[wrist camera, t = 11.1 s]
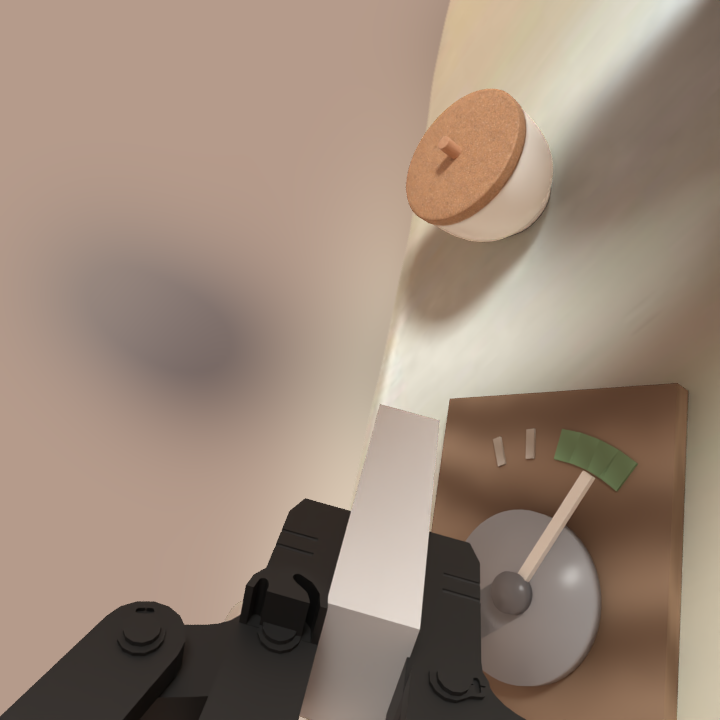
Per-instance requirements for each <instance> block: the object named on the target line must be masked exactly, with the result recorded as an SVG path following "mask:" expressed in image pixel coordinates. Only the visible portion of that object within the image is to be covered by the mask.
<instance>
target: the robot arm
mask: <svg viewBox="0 0 720 720" xmlns="http://www.w3.org/2000/svg"><path fill="white" fill-rule="evenodd" d="M439 421H440V420H436V419H433V418H429V417H425V416H422V415H418V414H414V413H411V412H407V411H403V410H400V409H396V408H392V407H389V406H385V405H381V404H380V407H379V410H378V414H377V418H376V421H375V425H374V429H373V432H372V436H371V440H370V443H369V447H368V451H367V455H366V458H365V462H364V466H363V469H362V473H361V477H360V480H359V484H358V488H357V491H356V495H355V499H354V502H353V506H352V510H351V511H348V510H345V509H341V508H338V507H334V506H330V505H327V504H323V503H320V502H316V501H313V500H309V499H304V500H303V501H301V502H300V503H299V504H298V505H296V506H295V507H294V508H293V509H292V510H290V512H289V514H288V516H287V519H286V521H285V524H284V526H283V529H282V532H281V533H280V536H279V538H278V541H277V543H276V547H275V548H274V550H273V553H272V556H271V558H270V560H269V563H268V565H267V568H265V569H263V570H261V571H260V572H258V573H256V574H254V575H253V577H252V578H251V579H250V581H249V582H248V583H247V585H246V588H245V594H244V599H243V604H242V609H241V614H240V615H239V616H237V617H235V618H234V619H232V620H229V621H226V622H223V623H219V624H210V625H184V623H183V621H182V619H181V617H180V615H178V614H177V613H176V612H175V611H174V610H172V609H171V608H170V607H168V606H166V605H163V604H159V603H157V602H134V603H130V604H127V605H124V606H121V607H119V608H118V609H116V610H114V611H113V612H112V613H110V614H109V615H107V616H106V617H105V618H104V619H103V620H102V621H101V622H100V623H98V624H97V625H96V626H95V627H94V628H93V629H92V630H91V631H90V632H89V633H88V634H87V635H86V636H85V637H84V638H83V639H82V640H81V641H79V642H78V643H77V644H76V645H75V646H74V647H73V648H72V649H71V650H70V651H69V652H68V653H67V654H66V655H65V656H64V657H63V658H61V659H60V660H59V661H58V662H57V663H56V664H55V665H54V666H53V667H52V668H51V669H50V670H49V671H48V672H47V673H46V674H45V675H44V676H42V677H41V679H39V680H38V681H37V682H36V683H35V684H34V685H33V686H32V687H31V688H30V689H29V690H28V691H27V692H26V693H25V694H23V695H22V696H21V697H20V698H19V699H18V700H17V701H16V702H15V703H14V704H13V705H12V706H11V707H10V708H9V709H8V710H7V711H6V712H4V713H3V714H2V715H1V716H0V720H298V719H299V716H300V717H303V718H307V719H310V720H526V719H524V718H523V717H521V716H519V715H518V714H516V713H515V712H513V711H512V710H511V709H509V708H508V707H506V706H505V705H504V704H503V703H502V702H501V701H500V700H499V699H498V698H497V697H496V696H495V694H494V693H493V691H492V690H491V689H490V685H489V681H488V679H487V678H486V676H485V675H484V673H483V670H482V663H481V603H480V562H479V560H478V558H477V556H476V554H475V552H474V550H473V548H472V546H471V544H470V543H468V542H465V541H461V540H457V539H454V538H450V537H447V536H443V535H440V534H436V533H433V532H429V527H430V517H431V506H432V496H433V485H434V474H435V464H436V453H437V442H438V432H439Z"/></svg>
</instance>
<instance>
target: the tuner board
mask: <svg viewBox="0 0 720 720" xmlns="http://www.w3.org/2000/svg"><path fill="white" fill-rule="evenodd" d="M687 411H688V390H687V389H685V388H684V387H682V386H681V385H679V384H678V383H673V384H659V385H644V386H629V387H615V388H600V389H586V390H571V391H557V392H542V393H528V394H513V395H499V396H484V397H470V398H455V399H450V401H449V409H448V416H447V423H446V430H445V437H444V445H443V452H442V459H441V466H440V473H439V481H438V488H437V495H436V502H435V509H434V517H433V524H432V531H431V532H433V533H436V534H440V535H443V536H447V537H450V538H454V539H457V540H461V541H466V540H467V538H468V537H469V536H470V534H471V533H472V532H473V531H474V530H475V529H476V528H477V527H478V526H479V525H480V524H481V523H482V522H484V521H485V520H487V519H488V518H490V517H492V516H494V515H495V514H498V513H501V512H504V511H509V510H521V509H522V510H530V511H534V512H537V513H541V514H544V515H547V516H550V517H552V518H553V517H554V515H555V513H556V512H557V510H558V509H559V507H560V506H561V504H562V502H563V501H564V499H565V498H566V496H567V495H568V493H569V491H570V490H571V488H572V487H573V485H574V484H575V482H576V480H577V479H578V477H579V476H580V474H581V473H582V471H585V472H587V473H589V474H590V475H591V476H593V477H594V478H595V480H594V481H593V483H592V485H591V486H590V488H589V489H588V491H587V492H586V494H585V495H584V497H583V499H582V500H581V502H580V503H579V505H578V506H577V508H576V510H575V511H574V513H573V514H572V516H571V517H570V519H569V520H568V522H567V524H566V526H567V527H568V528H569V529H571V530H572V531H573V532H574V533H575V534H576V535H577V537H578V538H579V539H580V540H581V541H582V543H583V544H584V546H585V547H586V549H587V550H588V552H589V554H590V556H591V558H592V560H593V563H594V565H595V568H596V570H597V574H598V578H599V582H600V589H601V617H600V623H599V628H598V632H597V635H596V637H595V640H594V643H593V645H592V647H591V649H590V651H589V653H588V654H587V656H586V657H585V659H584V660H583V661H582V663H581V664H580V665H579V666H578V667H577V668H576V669H575V670H574V671H573V672H571V673H570V674H569V675H568V676H566V677H565V678H563V679H561V680H559V681H557V682H554V683H551V684H548V685H543V686H516V685H511V684H507V683H504V682H501V681H499V680H497V679H495V678H493V677H492V676H490V675H489V674H487V673H486V672H485V671H483V673H484V675H485V676H486V678H487V679H488V681H489V685H490V689H491V690H492V691H493V693H494V694H495V696H496V697H497V698H498V699H499V700H500V701H501V702H502V703H503V704H504V705H505V706H506V707H508V708H509V709H511V710H512V711H513V712H515V713H516V714H518V715H519V716H521V717H523V718H524V719H526V720H677V695H678V667H679V638H680V610H681V582H682V553H683V525H684V496H685V468H686V440H687Z"/></svg>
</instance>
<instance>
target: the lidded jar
mask: <svg viewBox="0 0 720 720" xmlns="http://www.w3.org/2000/svg"><path fill="white" fill-rule="evenodd" d="M552 179H553V160H552V155H551V152H550V148H549V145H548V143H547V141H546V139H545V137H544V135H543V133H542V132H541V130H540V129H539V127H538V126H537V125H536V123H535V122H534V121H533V120H532V119H531V117H530V116H529V115H528V114H527V113H526V112H525V111H524V110H523V109H522V108H521V106H520V105H519V104H518V103H517V101H516V100H515V99H514V98H513V97H512V96H511V95H509V94H508V93H506V92H505V91H502V90H498V89H484V90H479V91H476V92H473V93H470V94H468V95H466V96H464V97H463V98H461V99H459V100H458V101H456V102H455V103H453V104H452V105H451V106H450V107H449V108H447V109H446V110H445V111H444V112H443V113H442V114H441V115H440V116H439V117H438V118H437V119H436V120H435V121H434V123H433V124H432V125H431V126H430V128H429V129H428V130H427V132H426V133H425V134H424V136H423V138H422V139H421V141H420V143H419V145H418V147H417V149H416V151H415V153H414V155H413V158H412V160H411V163H410V166H409V170H408V175H407V182H406V192H407V198H408V202H409V205H410V207H411V209H412V211H413V212H414V213H415V214H416V215H417V216H418V217H420V218H421V219H423V220H425V221H426V222H428V223H430V224H433V225H435V226H437V227H438V228H440V229H442V230H443V231H445V232H447V233H449V234H451V235H453V236H456V237H459V238H462V239H465V240H469V241H477V242H490V241H497V240H500V239H504V238H506V237H508V236H511V235H514V234H517V233H520V232H522V231H523V230H525V229H527V228H528V227H529V226H531V225H532V224H533V223H534V222H535V221H536V220H537V219H538V217H539V216H540V215H541V214H542V212H543V211H544V209H545V207H546V205H547V203H548V200H549V197H550V192H551V184H552Z"/></svg>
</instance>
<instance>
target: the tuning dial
mask: <svg viewBox="0 0 720 720" xmlns="http://www.w3.org/2000/svg"><path fill="white" fill-rule="evenodd" d="M594 480H595V478H594V477H593V476H591V475H590V474H589V473H587V472H585V471H582V473H581V474H580V476H579V477H578V479H577V480H576V482H575V484H574V485H573V487H572V488H571V490H570V491H569V493H568V495H567V496H566V498H565V499H564V501H563V502H562V504H561V506H560V507H559V509H558V510H557V512H556V513H555V515H554V517H553V518H552V517H550V516H547V515H544V514H541V513H537V512H534V511H530V510H522V509H521V510H509V511H504V512H501V513H498V514H495V515H494V516H492V517H490V518H488V519H487V520H485V521H484V522H482V523H481V524H480V525H479V526H478V527H477V528H476V529H475V530H474V531H473V532H472V533H471V534H470V536H469V537H468V538H467V540H466V541H465V542H468V543H470V544H471V546H472V548H473V550H474V552H475V554H476V556H477V558H478V560H479V562H480V603H481V663H482V670H483V671H485V672H486V673H487V674H489V675H490V676H492V677H493V678H495V679H497V680H499V681H501V682H504V683H507V684H511V685H516V686H543V685H548V684H551V683H554V682H557V681H559V680H561V679H563V678H565V677H566V676H568V675H569V674H570V673H571V672H573V671H574V670H575V669H576V668H577V667H578V666H579V665H580V664H581V663H582V661H583V660H584V659H585V657H586V656H587V654H588V653H589V651H590V649H591V647H592V645H593V643H594V640H595V637H596V635H597V632H598V628H599V623H600V617H601V589H600V582H599V578H598V574H597V570H596V568H595V565H594V563H593V560H592V558H591V556H590V554H589V552H588V550H587V549H586V547H585V546H584V544H583V543H582V541H581V540H580V539H579V538H578V537H577V535H576V534H575V533H574V532H573V531H572V530H571V529H569V528H568V527H567V526H566V524H567V522H568V520H569V519H570V517H571V516H572V514H573V513H574V511H575V510H576V508H577V506H578V505H579V503H580V502H581V500H582V499H583V497H584V495H585V494H586V492H587V491H588V489H589V488H590V486H591V485H592V483H593V481H594ZM242 604H243V601H240V602H239V603H237V604H236V605H235V606H234V607H233V608H232V609H231V611H230V612H229V614H228V615H227V617H226V619H225V621H224V622H226V621H229V620H232V619H234V618H235V617H237V616H239V615H240V614H241V609H242Z"/></svg>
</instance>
